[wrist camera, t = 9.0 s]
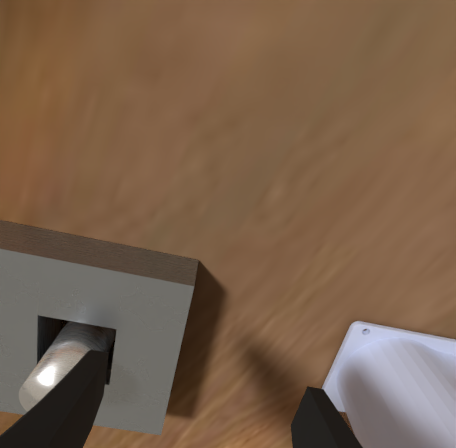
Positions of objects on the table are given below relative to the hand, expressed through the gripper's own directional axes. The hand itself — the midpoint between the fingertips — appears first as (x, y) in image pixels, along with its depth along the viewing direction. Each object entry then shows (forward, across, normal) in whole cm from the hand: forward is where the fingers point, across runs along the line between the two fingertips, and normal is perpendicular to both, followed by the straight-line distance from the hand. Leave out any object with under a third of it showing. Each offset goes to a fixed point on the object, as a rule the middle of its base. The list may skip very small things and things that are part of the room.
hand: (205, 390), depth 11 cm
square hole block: (+9, +11, +6) cm, 16 cm away
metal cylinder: (+9, +7, +6) cm, 13 cm away
